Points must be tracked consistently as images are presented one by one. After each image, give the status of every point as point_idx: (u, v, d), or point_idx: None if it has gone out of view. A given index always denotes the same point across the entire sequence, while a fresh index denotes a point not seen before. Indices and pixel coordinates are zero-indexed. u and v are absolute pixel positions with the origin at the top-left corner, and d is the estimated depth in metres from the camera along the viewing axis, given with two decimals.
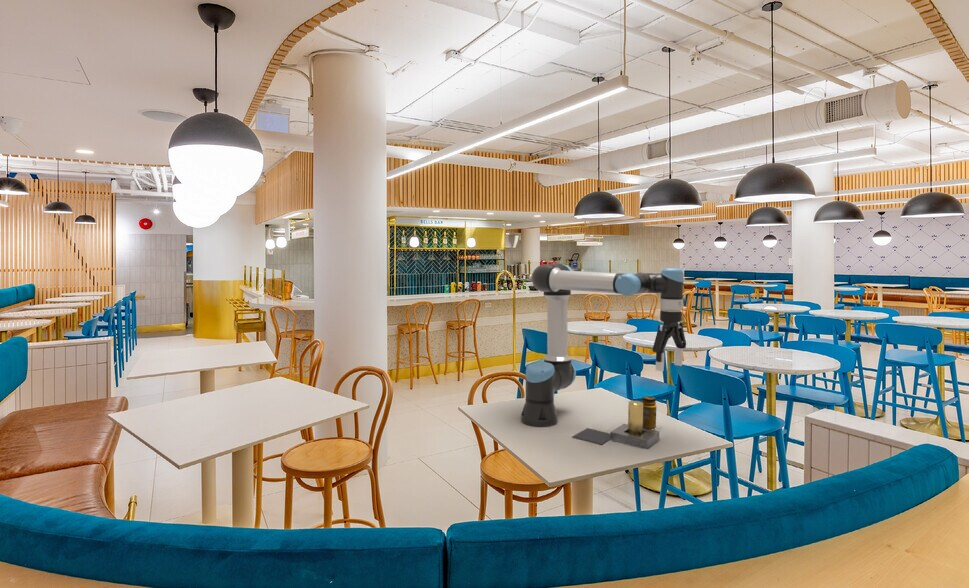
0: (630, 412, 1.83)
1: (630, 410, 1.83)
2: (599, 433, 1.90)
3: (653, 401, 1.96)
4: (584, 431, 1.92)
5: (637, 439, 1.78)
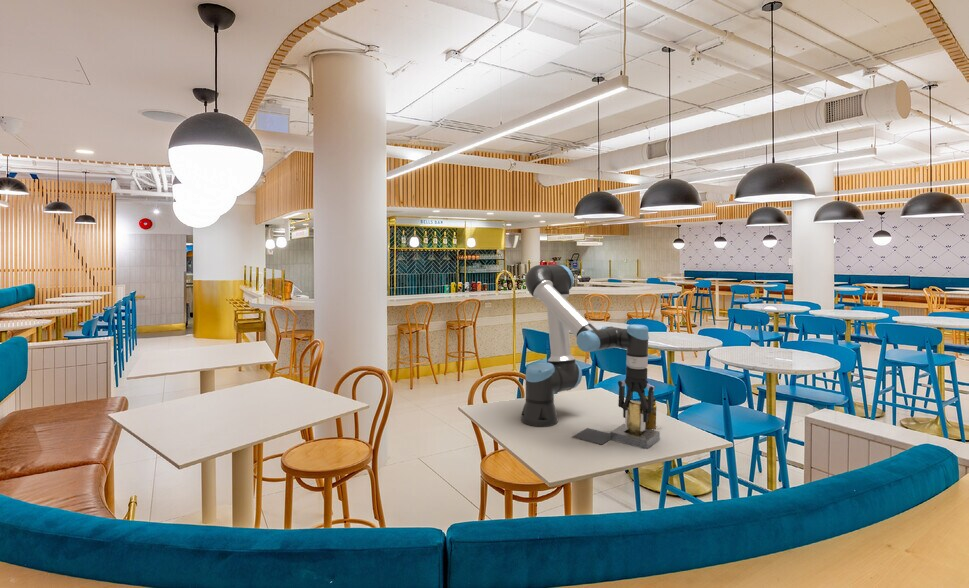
0: (630, 412, 1.83)
1: (630, 410, 1.83)
2: (599, 433, 1.90)
3: None
4: (584, 431, 1.92)
5: (637, 439, 1.78)
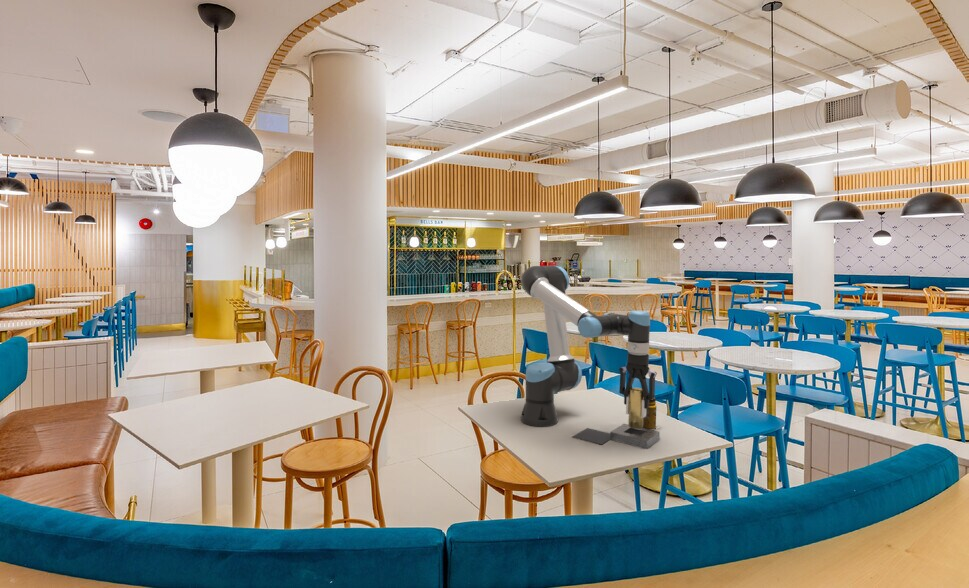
0: (631, 398, 1.82)
1: (631, 396, 1.82)
2: (599, 433, 1.90)
3: (653, 401, 1.96)
4: (584, 431, 1.92)
5: (637, 439, 1.78)
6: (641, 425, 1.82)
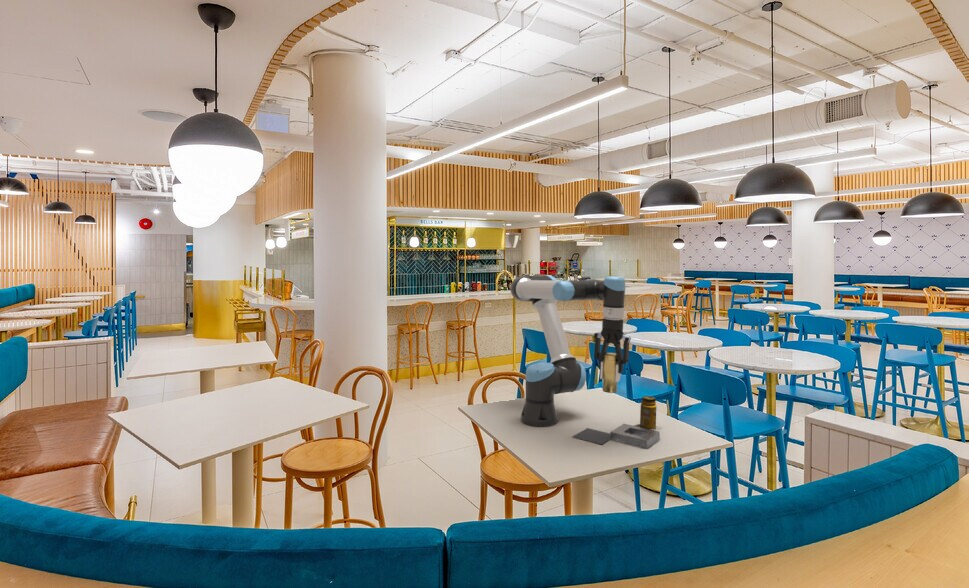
0: (605, 363, 1.84)
1: (606, 361, 1.84)
2: (599, 433, 1.90)
3: (653, 401, 1.96)
4: (584, 431, 1.92)
5: (637, 439, 1.78)
6: (615, 389, 1.84)
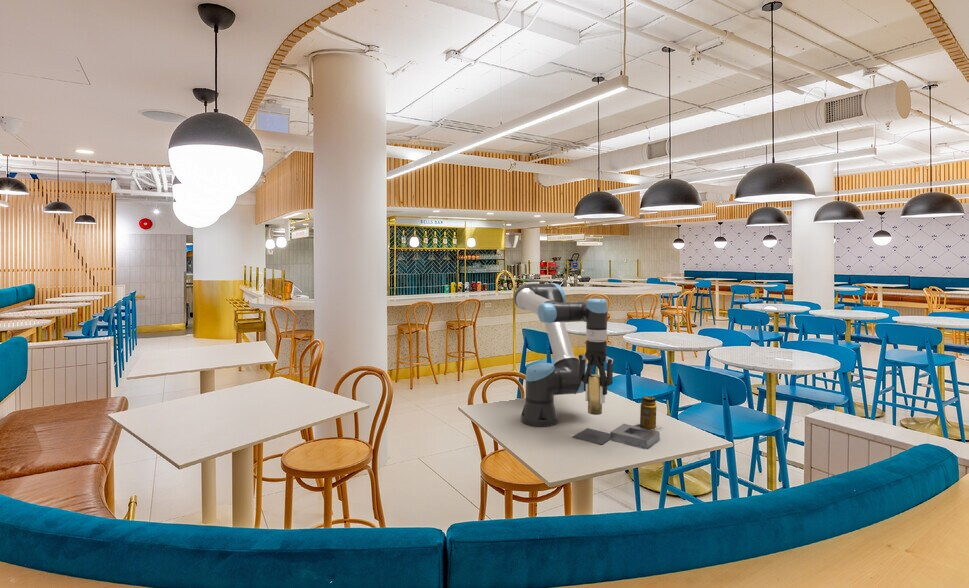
0: (590, 385, 1.85)
1: (590, 383, 1.85)
2: (599, 433, 1.90)
3: (653, 401, 1.96)
4: (584, 431, 1.92)
5: (637, 439, 1.78)
6: (600, 411, 1.85)
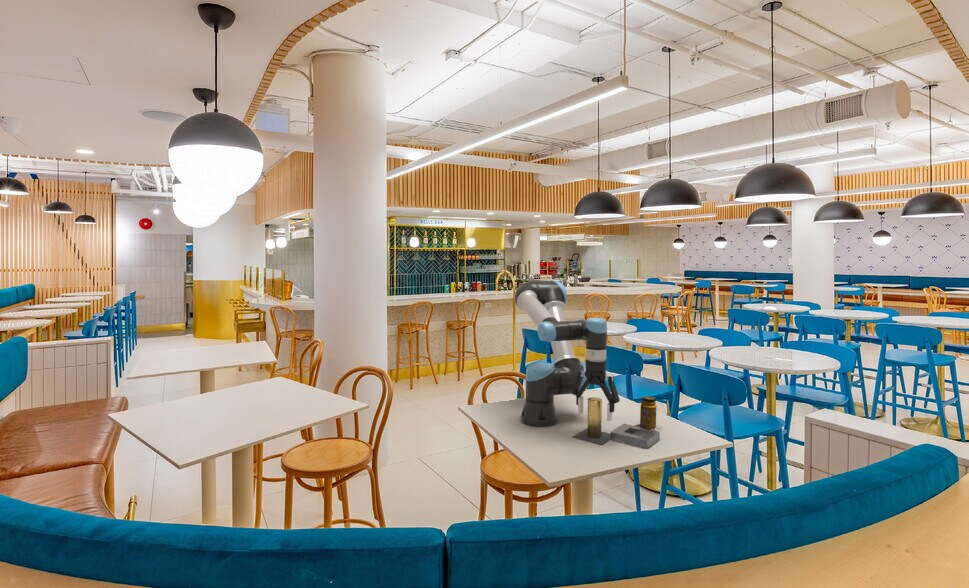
0: (589, 408, 1.85)
1: (589, 406, 1.85)
2: None
3: (653, 401, 1.96)
4: (584, 431, 1.92)
5: (637, 439, 1.78)
6: (599, 435, 1.85)
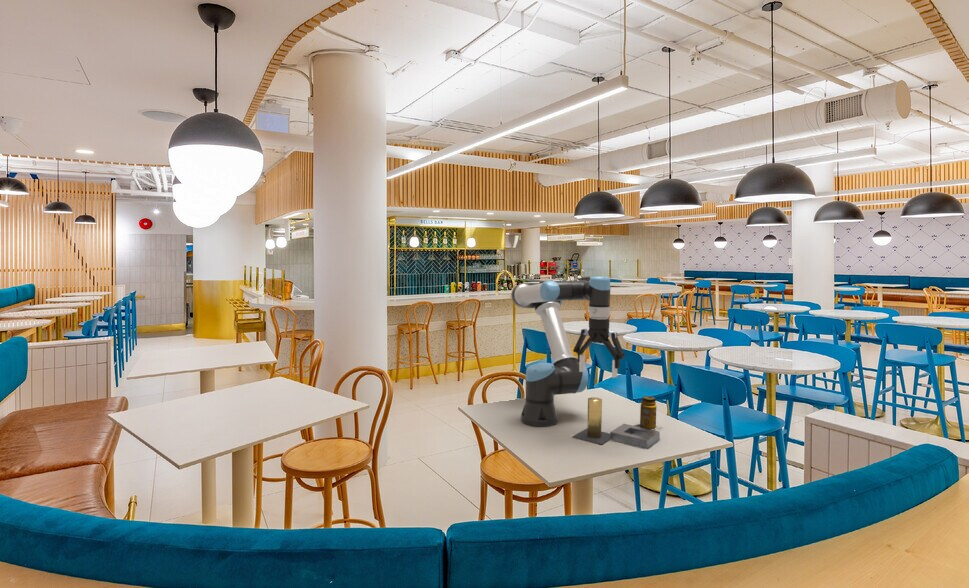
0: (589, 408, 1.86)
1: (589, 406, 1.86)
2: None
3: (653, 401, 1.96)
4: (584, 431, 1.92)
5: (637, 439, 1.78)
6: (599, 435, 1.85)
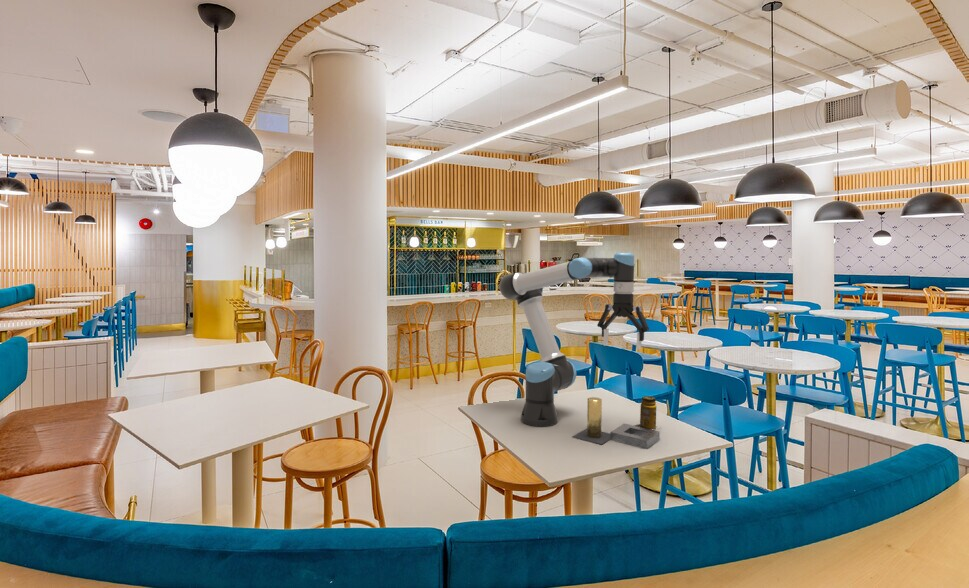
0: (589, 408, 1.86)
1: (589, 406, 1.86)
2: None
3: (653, 401, 1.96)
4: (584, 431, 1.92)
5: (637, 439, 1.78)
6: (599, 434, 1.85)
